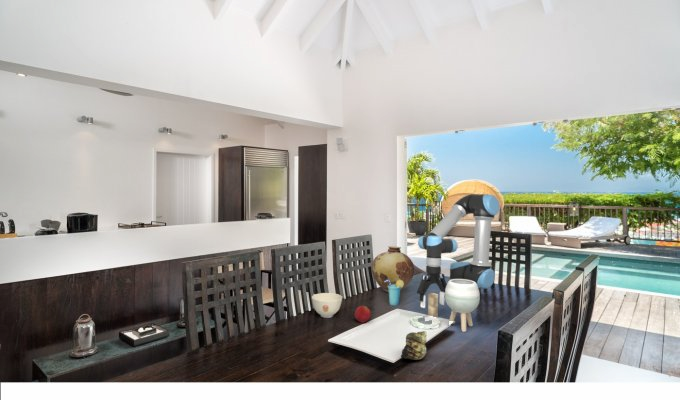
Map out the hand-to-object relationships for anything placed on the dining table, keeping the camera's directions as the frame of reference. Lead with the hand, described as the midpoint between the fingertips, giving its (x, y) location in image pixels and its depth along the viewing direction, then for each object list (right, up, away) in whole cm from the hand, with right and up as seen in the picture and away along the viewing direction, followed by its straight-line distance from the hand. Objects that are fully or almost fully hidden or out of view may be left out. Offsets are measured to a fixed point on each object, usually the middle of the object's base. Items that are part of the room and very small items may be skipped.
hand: (432, 305), depth 205 cm
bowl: (-55, -5, -1) cm, 56 cm away
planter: (+10, -6, -16) cm, 20 cm away
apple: (-37, -6, -9) cm, 39 cm away
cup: (-18, -5, +22) cm, 29 cm away
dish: (-7, -6, -12) cm, 15 cm away
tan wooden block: (0, -6, 0) cm, 6 cm away
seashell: (-20, -7, -52) cm, 56 cm away
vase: (-15, -5, +50) cm, 52 cm away
